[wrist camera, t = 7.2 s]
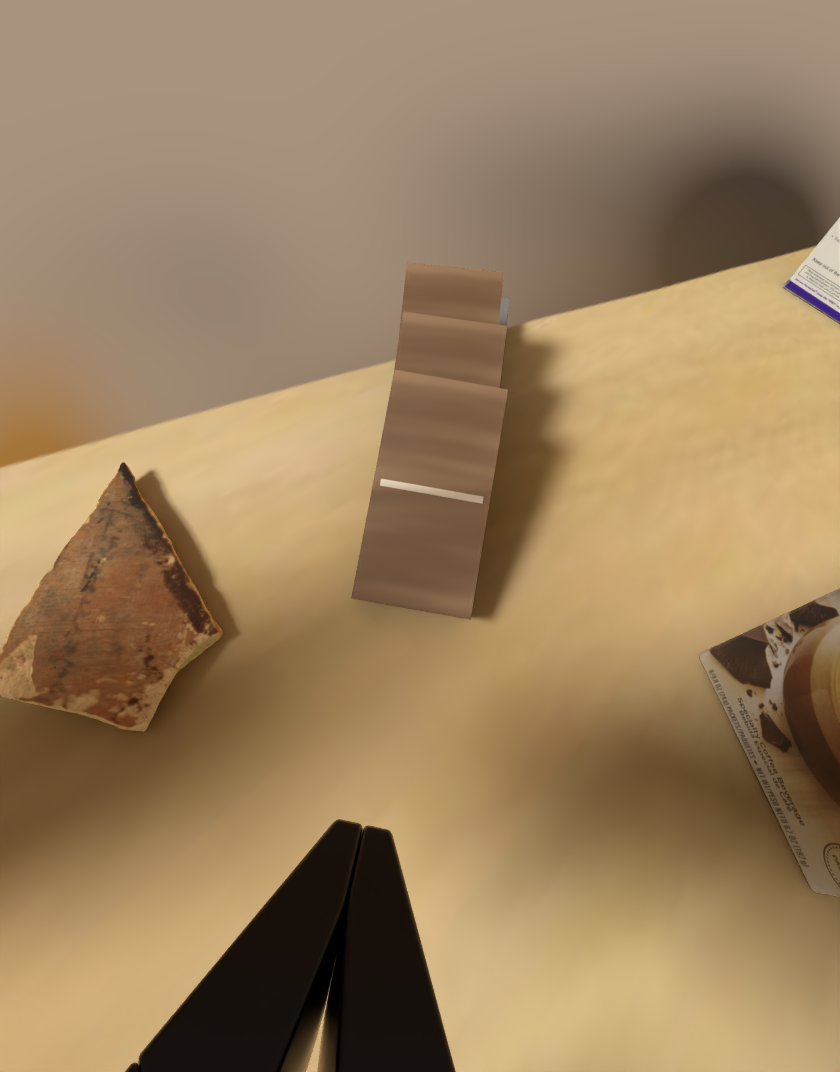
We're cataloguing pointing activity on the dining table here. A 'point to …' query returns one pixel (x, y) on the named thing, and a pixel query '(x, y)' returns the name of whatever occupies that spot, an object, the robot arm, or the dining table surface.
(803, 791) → the coffee box
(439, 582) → the domino
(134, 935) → the dining table surface
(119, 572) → the shard
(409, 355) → the domino
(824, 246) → the supplement box
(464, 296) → the domino
